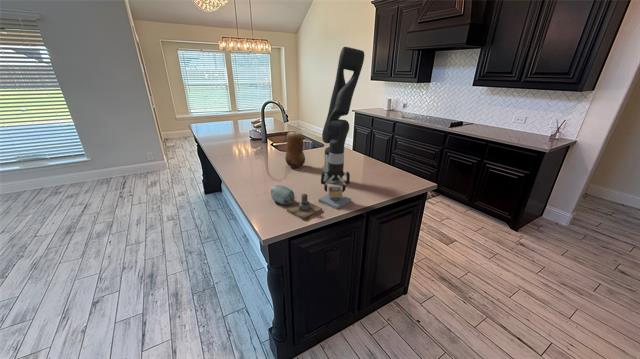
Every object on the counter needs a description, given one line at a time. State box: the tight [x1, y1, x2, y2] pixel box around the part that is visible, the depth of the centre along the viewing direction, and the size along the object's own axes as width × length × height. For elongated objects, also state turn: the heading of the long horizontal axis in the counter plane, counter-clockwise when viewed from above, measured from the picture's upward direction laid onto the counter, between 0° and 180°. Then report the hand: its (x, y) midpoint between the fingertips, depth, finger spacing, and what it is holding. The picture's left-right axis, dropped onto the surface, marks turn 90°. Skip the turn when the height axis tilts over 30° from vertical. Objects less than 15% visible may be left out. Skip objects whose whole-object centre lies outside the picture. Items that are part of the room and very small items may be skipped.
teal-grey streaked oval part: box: [270, 185, 296, 206], centre depth 128 cm, size 14×10×10 cm
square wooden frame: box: [327, 186, 343, 197], centre depth 128 cm, size 6×6×3 cm
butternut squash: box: [284, 131, 306, 169], centre depth 173 cm, size 14×13×25 cm
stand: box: [286, 193, 323, 221], centre depth 119 cm, size 12×12×8 cm
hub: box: [318, 184, 352, 210], centre depth 129 cm, size 12×12×8 cm
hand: (334, 191), depth 128 cm, fingers open, 8 cm apart
